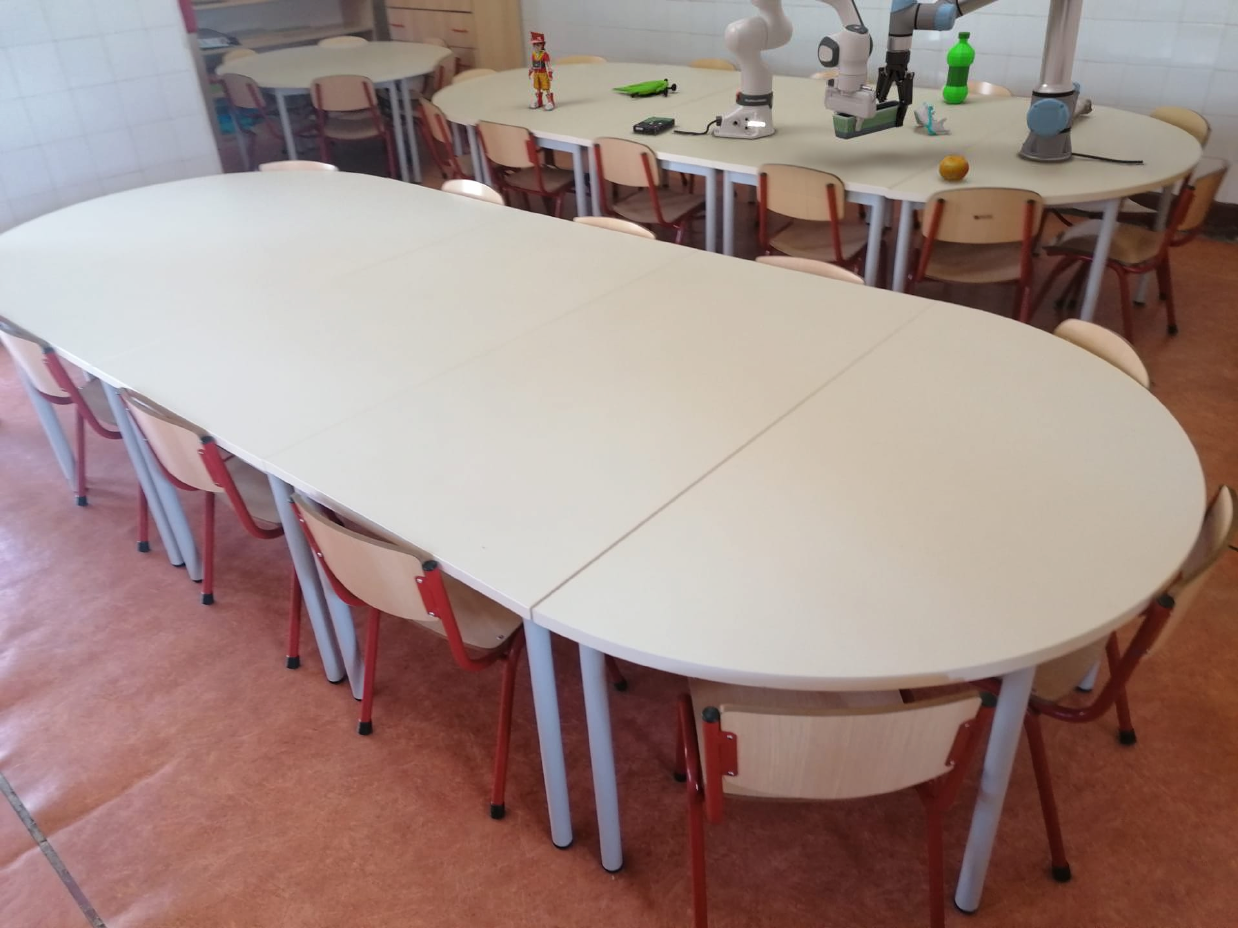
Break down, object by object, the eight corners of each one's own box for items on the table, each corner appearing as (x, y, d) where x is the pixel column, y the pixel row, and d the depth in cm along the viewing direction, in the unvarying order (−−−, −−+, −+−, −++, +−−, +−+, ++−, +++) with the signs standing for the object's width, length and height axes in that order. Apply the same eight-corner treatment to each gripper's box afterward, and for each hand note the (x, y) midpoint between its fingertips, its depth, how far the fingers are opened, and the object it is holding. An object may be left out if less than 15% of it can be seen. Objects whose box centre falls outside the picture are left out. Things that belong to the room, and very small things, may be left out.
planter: (845, 142, 287) (847, 118, 283) (829, 137, 292) (831, 114, 288) (907, 126, 298) (910, 103, 294) (891, 121, 303) (894, 99, 299)
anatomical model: (908, 101, 325) (935, 94, 324) (909, 130, 331) (936, 123, 330) (923, 112, 313) (951, 104, 312) (924, 141, 319) (952, 134, 318)
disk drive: (656, 136, 337) (675, 125, 347) (656, 128, 335) (675, 118, 345) (632, 133, 342) (652, 123, 352) (632, 125, 340) (651, 115, 350)
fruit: (933, 171, 274) (950, 147, 271) (934, 173, 282) (951, 150, 279) (956, 186, 273) (974, 163, 270) (956, 188, 281) (973, 165, 278)
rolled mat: (1059, 103, 333) (1083, 86, 324) (1072, 124, 333) (1097, 107, 325) (1027, 125, 315) (1052, 107, 307) (1041, 147, 316) (1067, 130, 308)
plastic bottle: (973, 101, 354) (984, 32, 339) (955, 106, 349) (966, 36, 335) (952, 97, 361) (962, 29, 346) (934, 102, 356) (944, 33, 342)
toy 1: (525, 109, 381) (517, 32, 364) (534, 104, 388) (527, 28, 371) (550, 110, 377) (543, 32, 360) (559, 105, 384) (553, 28, 367)
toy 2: (686, 85, 398) (631, 84, 414) (685, 72, 395) (629, 72, 411) (651, 104, 381) (596, 103, 397) (650, 92, 378) (594, 91, 394)
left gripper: (883, 86, 275) (878, 132, 283) (837, 76, 290) (833, 120, 298) (868, 89, 273) (863, 136, 281) (822, 79, 287) (819, 123, 295)
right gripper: (931, 52, 279) (921, 128, 292) (884, 44, 294) (876, 117, 307) (913, 56, 276) (904, 132, 289) (867, 47, 291) (860, 121, 304)
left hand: (847, 128), depth 289 cm, fingers closed on planter, 7 cm apart
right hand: (890, 124), depth 298 cm, fingers closed on planter, 7 cm apart
